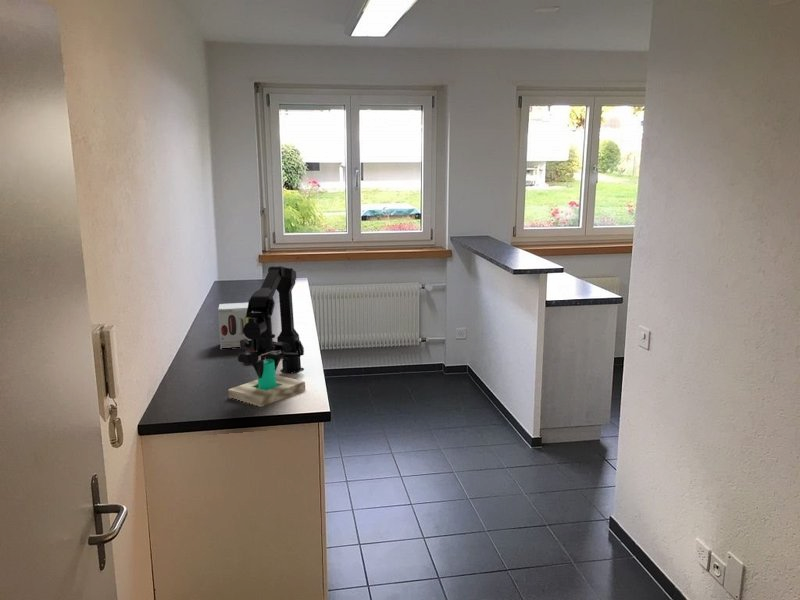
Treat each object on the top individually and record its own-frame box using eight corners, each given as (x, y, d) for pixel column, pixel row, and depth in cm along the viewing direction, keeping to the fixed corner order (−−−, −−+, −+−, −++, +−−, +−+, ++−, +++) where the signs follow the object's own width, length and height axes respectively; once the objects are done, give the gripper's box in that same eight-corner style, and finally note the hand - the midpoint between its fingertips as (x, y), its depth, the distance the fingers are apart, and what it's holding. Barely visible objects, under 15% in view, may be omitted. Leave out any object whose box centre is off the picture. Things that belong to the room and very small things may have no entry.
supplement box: (220, 350, 281) (216, 309, 278) (221, 342, 294) (218, 303, 290) (260, 347, 284) (258, 306, 281) (260, 340, 297) (258, 301, 294)
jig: (273, 382, 234) (273, 374, 233) (305, 389, 224) (304, 381, 223) (228, 398, 218) (228, 389, 217) (260, 406, 208) (260, 397, 208)
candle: (277, 387, 224) (275, 354, 222) (274, 393, 218) (272, 359, 216) (260, 388, 224) (257, 354, 221) (257, 394, 218) (254, 359, 216)
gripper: (268, 323, 229) (271, 366, 232) (225, 334, 214) (229, 380, 217) (290, 327, 222) (293, 371, 225) (247, 339, 208) (251, 385, 211)
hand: (266, 376), depth 220 cm, fingers closed on candle, 5 cm apart
